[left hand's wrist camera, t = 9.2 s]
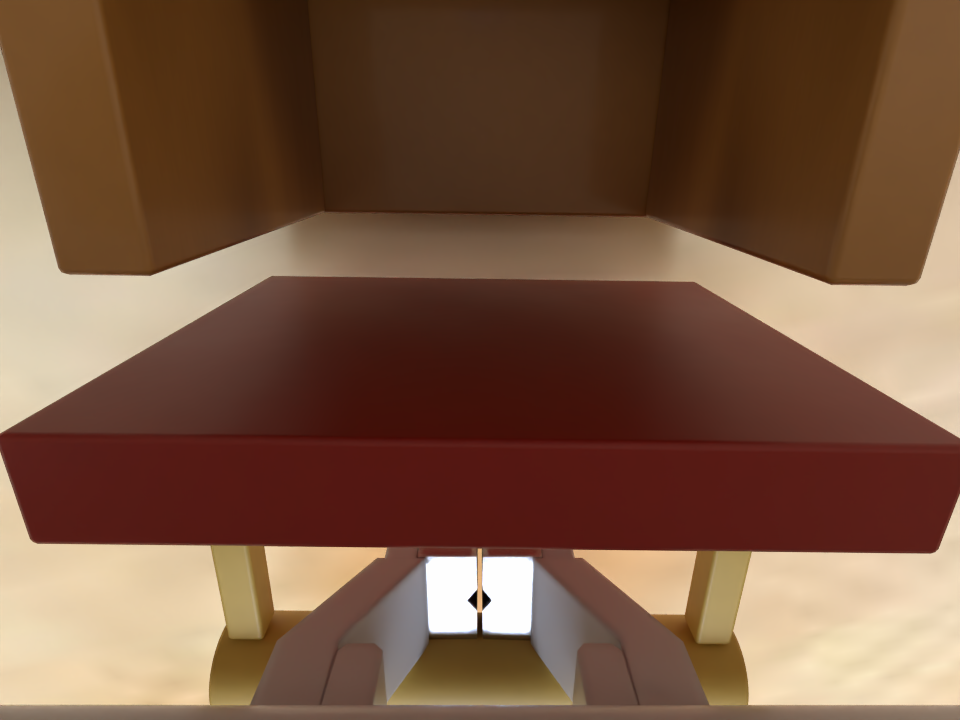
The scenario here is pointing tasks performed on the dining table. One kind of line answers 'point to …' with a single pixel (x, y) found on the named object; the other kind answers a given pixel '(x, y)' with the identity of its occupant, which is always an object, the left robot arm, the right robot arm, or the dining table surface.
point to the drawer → (486, 291)
